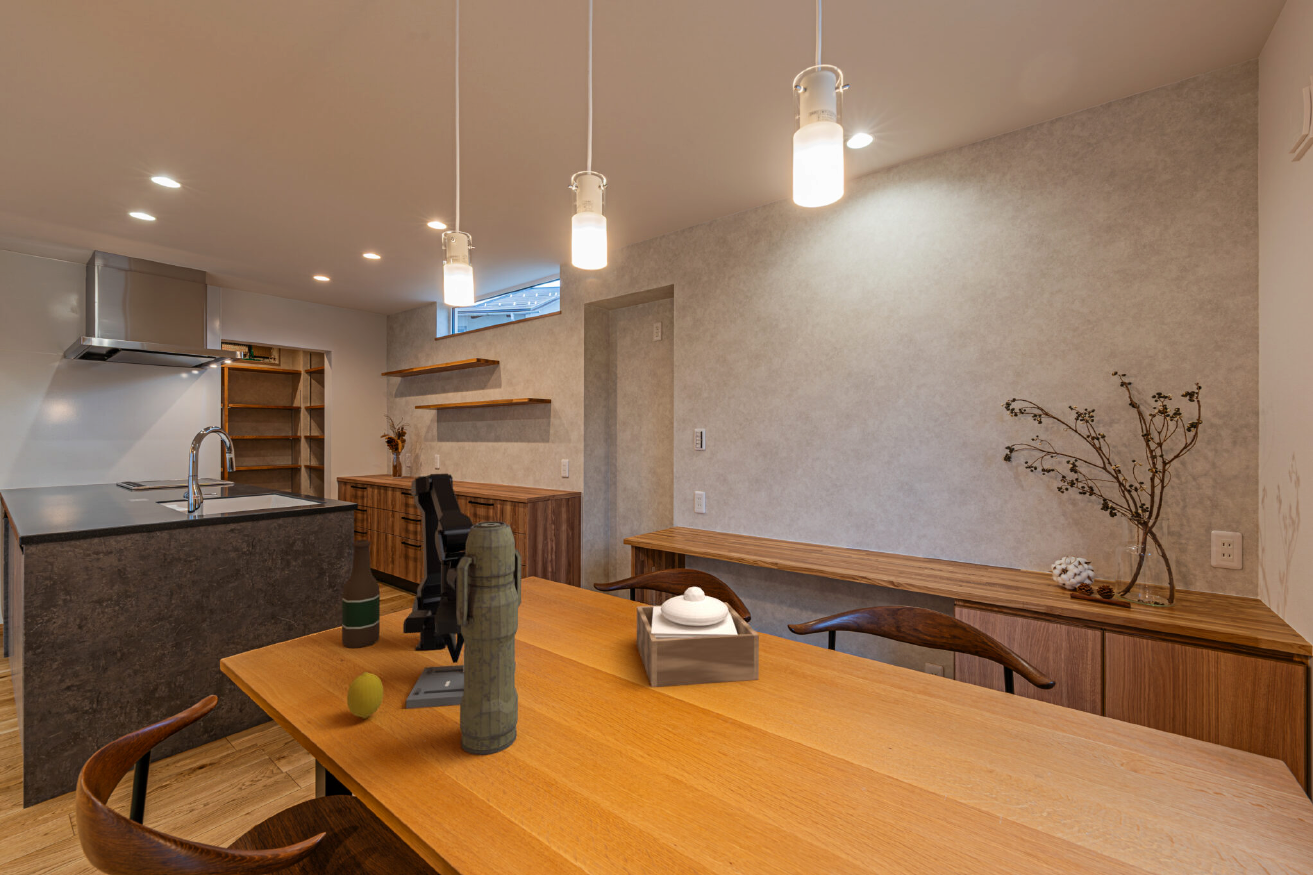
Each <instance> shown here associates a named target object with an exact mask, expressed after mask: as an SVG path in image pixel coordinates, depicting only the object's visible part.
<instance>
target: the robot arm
mask: <svg viewBox="0 0 1313 875" xmlns="http://www.w3.org/2000/svg"><path fill="white" fill-rule="evenodd" d="M453 480H454V478H453V476H452V474H450V473H431V474H429V475H428V474H427V475H420V476H419V475H418V476H416V478H414V479H413V480H412V481H411V485H410V486H411V487H410V491H411V492H410V494H411V496H412V497H414V498H413V499H414V500H413V502H414V504H415V506H416V508H417V509H418V510H419V511H420V514H421V516H422V517H421V518H422V519H421V520H422V522H421V523H422V546H423V547H422V548H423V575H424V576H423V578H422V580H420V581H421V582H420V583H419V585H418V587H417V589H416V593H417V595H416V596H415V597H414V602H413V605H412V608H411V612H410V613H409V614H408V615H407V617H406V618H405V619H404V620H403V624H402V627H403V628H402V632H403V634H418V633H419V641H418V643H416V644H417V645H416V646H415V651H421V650H422V651H423V650H442V649H443V650H444V649H445V648H446V647H447V650H448V653H449V655H450V658H451V661H452V663H453V664H456V663H458V661H459V660H460V659H459V658H460V656H461V653H462V650H463V648H464V638H463V636H462V634H461V626H460V625H457V614H456V584H457V566H458V564H459V562H460V560H461V558H463V557H464V555H466V541H467V538H468V535H469V532H470V529H471V527H472V526H474V523H473V520H472V519H471V517H470V516H468V515H466V514H464V513H463V512H462V510H461V508H460V505H459V504H460V503H459V502H458V500H457V496H456V492H455V490H454V482H453Z"/></svg>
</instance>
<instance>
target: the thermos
mask: <svg viewBox="0 0 1313 875" xmlns="http://www.w3.org/2000/svg"><path fill="white" fill-rule="evenodd" d="M473 525H474V524H473ZM515 542H516V541H515V537H514V534H513V532H512V528H511V525H510V524H507V522H503V521H494V520H493V521H492V520H491V521H482V522H477V523H475V525H474V526H472V527H471V529H470V532H469V535H468V538H467V541H466V555H464V557H463V558H461V560H460V562H459V564H458V566H457V584H456V614H457V625H460V626H461V634H462V636H463V638H464V644H463V665H464V694H463V697H462V700H461V702H460V705H459V729H460V732H461V738H460V745H461V749H462V750H464V752H466V753H470V754H472V755H479V756H483V755H491V754H496V753H499V752H502V751H504V750H506V749H508V748H509V747H510V746H512V745H513V744H514V743H515V741H517V724H518V721H519V720H518V718H519V714H518V713H519V710H518V709H519V695H518V692H517V689H516V687H515V681H516V680H515V678H516V677H515V673H516V669H515V662H516V661H515V660H516V659H515V657H516V635H517V631H518V629H519V607H520V606H521V604H522V555H521V553H520V551H519V550H518V549H516V548H515V546H516V543H515Z"/></svg>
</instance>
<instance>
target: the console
mask: <svg viewBox="0 0 1313 875" xmlns="http://www.w3.org/2000/svg"><path fill="white" fill-rule="evenodd" d="M516 663H517V662H516V661H515V670H516ZM463 671H464V664H460V665H446V666H443V665H442V666H427V667H424V669H423V670H422V672H421V674H420V676H419V677H418V679H417V681H416V682H415V684H414V686H413V688H412V689H411V691H410V693H409V694H408V696H407V698H406V699H405V702H406V703H405V709H417V708H418V709H419V708H432V707H433V708H434V707H445V706H460V702H461V700H462V697H463V694H464V672H463Z"/></svg>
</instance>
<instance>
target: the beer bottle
mask: <svg viewBox="0 0 1313 875" xmlns="http://www.w3.org/2000/svg"><path fill="white" fill-rule="evenodd" d="M352 547H353V553H352V554H353V555H352V568H351V574H350V576H349V578H348V579H347V580H346V582H345V584H344V587H343V589H342V599H341V609H342V610H341V613H342V615H341V641H342V644H343V646H344V647H346V649H361V648H365V647H369V646H373V645H374V644H375V643H376V642H378V641H379V640H380V631H381V630H380V625H381V622H380V616H381V615H380V611H381V608H380V607H381V606H380V605H381V600H380V599H381V598H380V595H381V594H380V585H379V583H378V581H377V579H376V577H375V576H374V575H373V573H372V569H371V558H370V557H371V556H370V547H371V542H370V540H367V539H359V540H356V541H353V542H352Z"/></svg>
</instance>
